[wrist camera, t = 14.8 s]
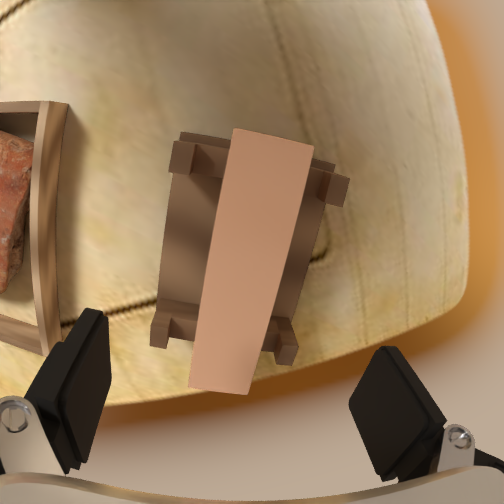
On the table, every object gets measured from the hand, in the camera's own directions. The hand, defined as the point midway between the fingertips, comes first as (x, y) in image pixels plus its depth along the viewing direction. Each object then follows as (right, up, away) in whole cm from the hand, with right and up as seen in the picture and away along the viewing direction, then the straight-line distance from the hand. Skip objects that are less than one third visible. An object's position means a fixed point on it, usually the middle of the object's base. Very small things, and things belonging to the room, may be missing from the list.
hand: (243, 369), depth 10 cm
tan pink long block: (-1, +3, +11) cm, 11 cm away
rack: (-1, +4, +14) cm, 15 cm away
